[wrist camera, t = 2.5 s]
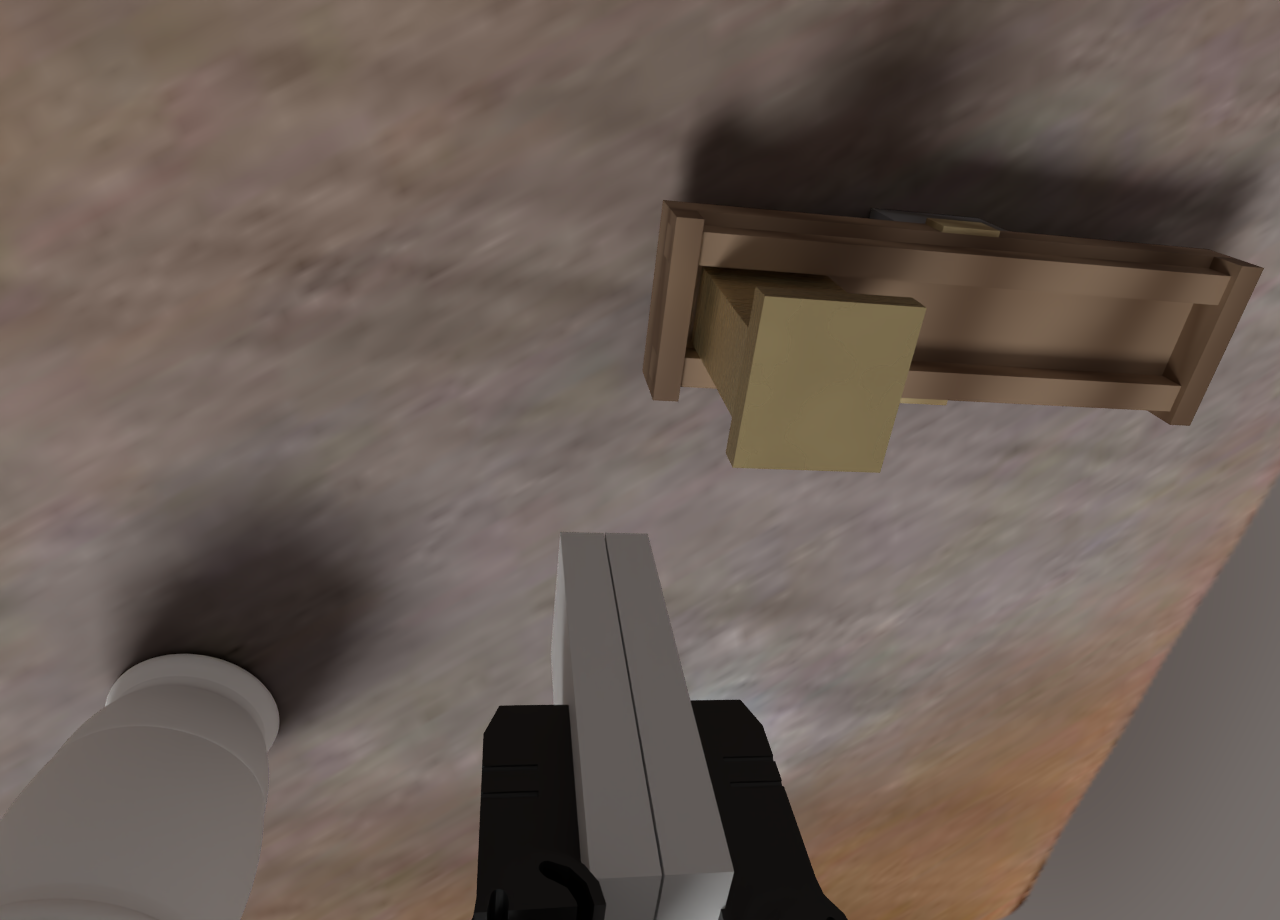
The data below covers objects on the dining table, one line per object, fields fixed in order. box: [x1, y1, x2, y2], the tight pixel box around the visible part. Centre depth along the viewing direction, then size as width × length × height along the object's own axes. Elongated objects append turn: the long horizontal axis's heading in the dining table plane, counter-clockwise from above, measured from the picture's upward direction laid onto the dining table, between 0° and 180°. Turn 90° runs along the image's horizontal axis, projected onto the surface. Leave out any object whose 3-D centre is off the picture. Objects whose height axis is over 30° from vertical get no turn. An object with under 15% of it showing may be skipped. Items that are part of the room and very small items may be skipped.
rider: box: [691, 266, 926, 473], centre depth 28 cm, size 5×6×8 cm
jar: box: [0, 654, 279, 920], centre depth 36 cm, size 11×10×15 cm
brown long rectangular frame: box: [643, 200, 1264, 426], centre depth 35 cm, size 24×8×6 cm, turn 84°
